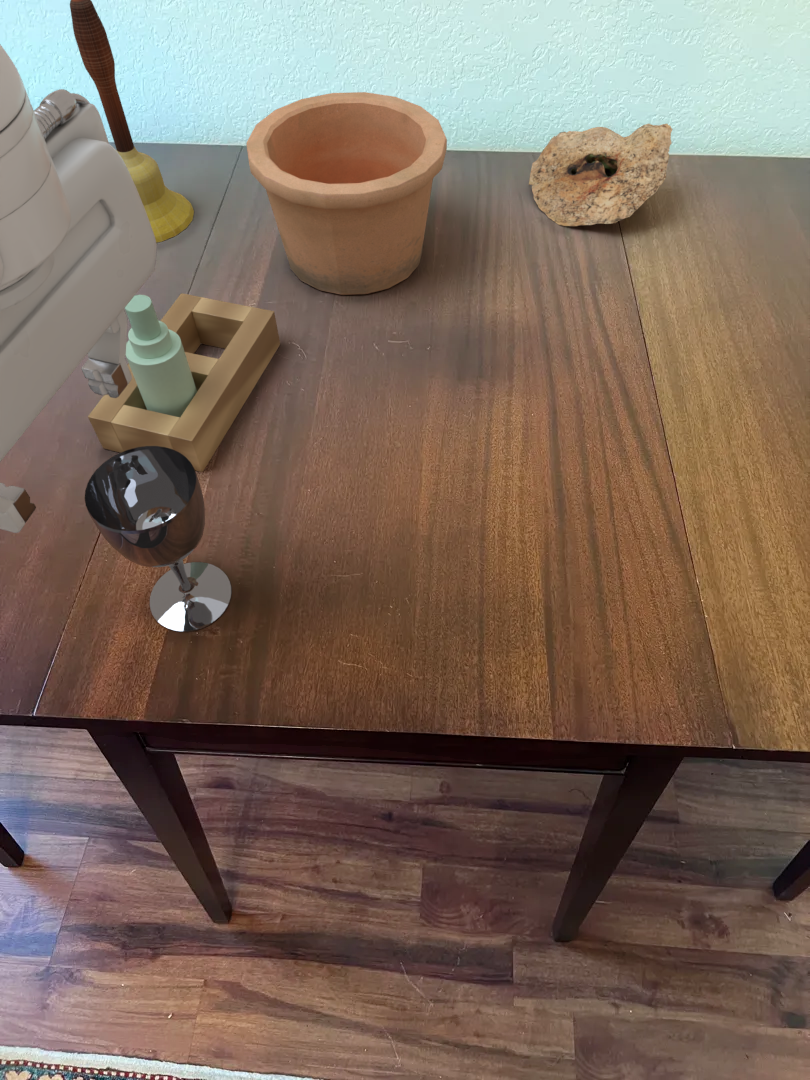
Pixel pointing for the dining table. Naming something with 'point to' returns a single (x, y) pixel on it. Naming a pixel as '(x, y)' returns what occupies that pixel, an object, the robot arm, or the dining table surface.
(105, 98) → the handbell
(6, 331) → the robot arm
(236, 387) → the hollow wooden block
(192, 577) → the wine glass
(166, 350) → the bottle
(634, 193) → the rough tan rock
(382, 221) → the pottery
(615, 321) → the dining table surface
